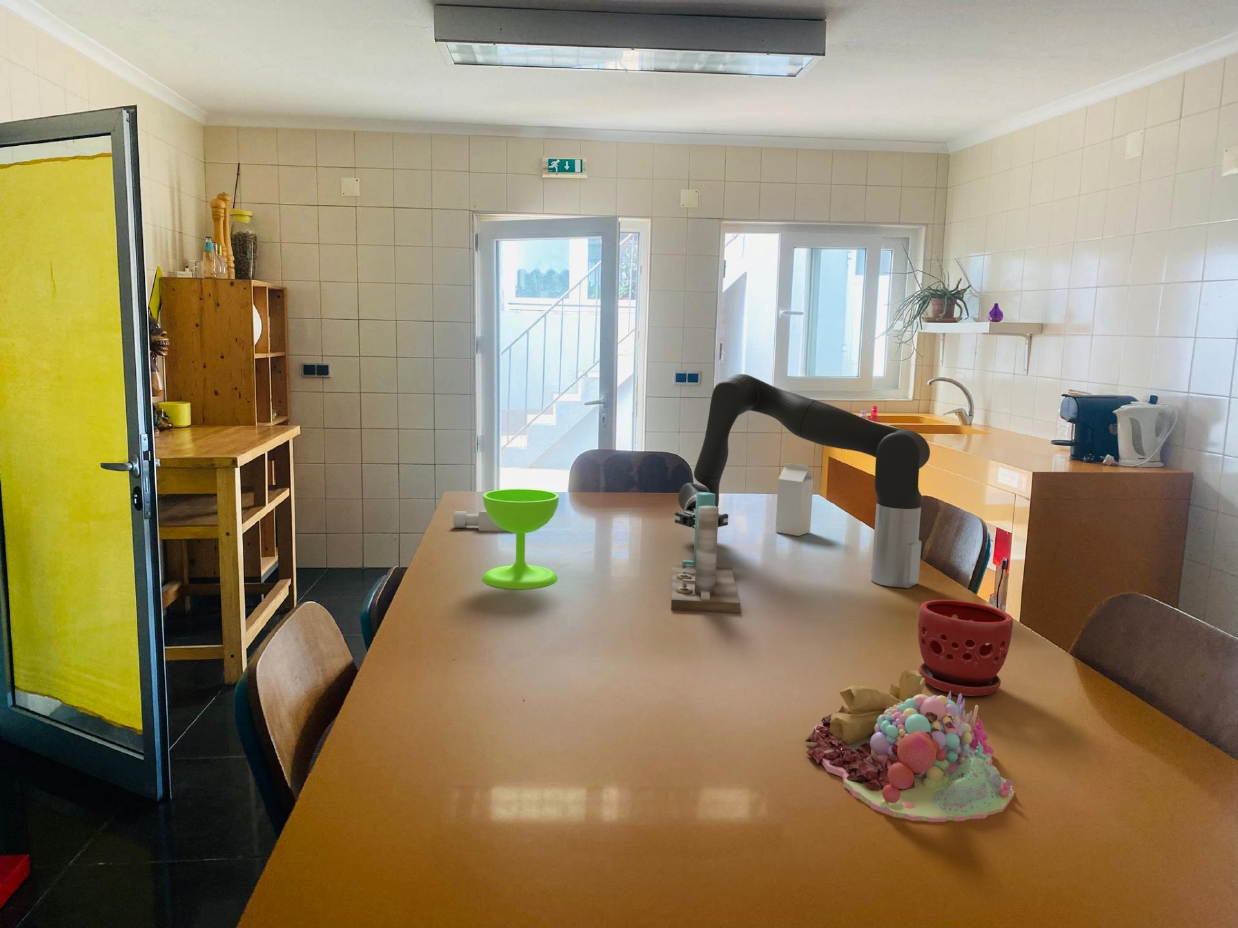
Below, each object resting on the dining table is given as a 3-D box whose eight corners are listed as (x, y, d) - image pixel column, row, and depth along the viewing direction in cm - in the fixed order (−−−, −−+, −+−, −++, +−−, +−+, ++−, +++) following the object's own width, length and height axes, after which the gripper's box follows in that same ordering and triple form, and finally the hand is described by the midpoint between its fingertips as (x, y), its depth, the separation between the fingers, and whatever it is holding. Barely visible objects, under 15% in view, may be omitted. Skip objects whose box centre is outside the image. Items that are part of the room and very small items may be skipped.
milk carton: (798, 536, 232) (803, 467, 229) (775, 532, 236) (778, 464, 233) (810, 532, 237) (814, 464, 235) (786, 528, 242) (790, 461, 239)
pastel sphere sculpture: (772, 739, 112) (776, 671, 111) (911, 712, 122) (916, 649, 121) (910, 841, 90) (917, 757, 88) (1067, 798, 99) (1075, 722, 98)
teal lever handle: (682, 565, 187) (685, 491, 184) (711, 566, 186) (715, 492, 184) (682, 570, 183) (685, 494, 181) (712, 571, 182) (715, 495, 180)
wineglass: (563, 570, 190) (564, 490, 188) (550, 591, 175) (552, 503, 172) (492, 566, 192) (493, 487, 189) (473, 586, 176) (473, 500, 174)
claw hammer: (470, 495, 257) (453, 510, 227) (544, 497, 258) (536, 513, 228) (470, 513, 258) (452, 531, 228) (544, 515, 258) (536, 533, 228)
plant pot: (1015, 706, 124) (1023, 626, 122) (920, 697, 126) (926, 618, 125) (995, 673, 136) (1002, 600, 135) (908, 665, 139) (914, 593, 137)
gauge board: (672, 573, 190) (675, 489, 188) (731, 576, 189) (735, 491, 187) (671, 609, 165) (674, 512, 162) (739, 612, 164) (744, 515, 161)
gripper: (727, 527, 208) (731, 544, 190) (672, 525, 208) (671, 541, 191) (728, 497, 206) (733, 511, 189) (673, 494, 207) (673, 508, 190)
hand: (702, 526), depth 190 cm, fingers closed
